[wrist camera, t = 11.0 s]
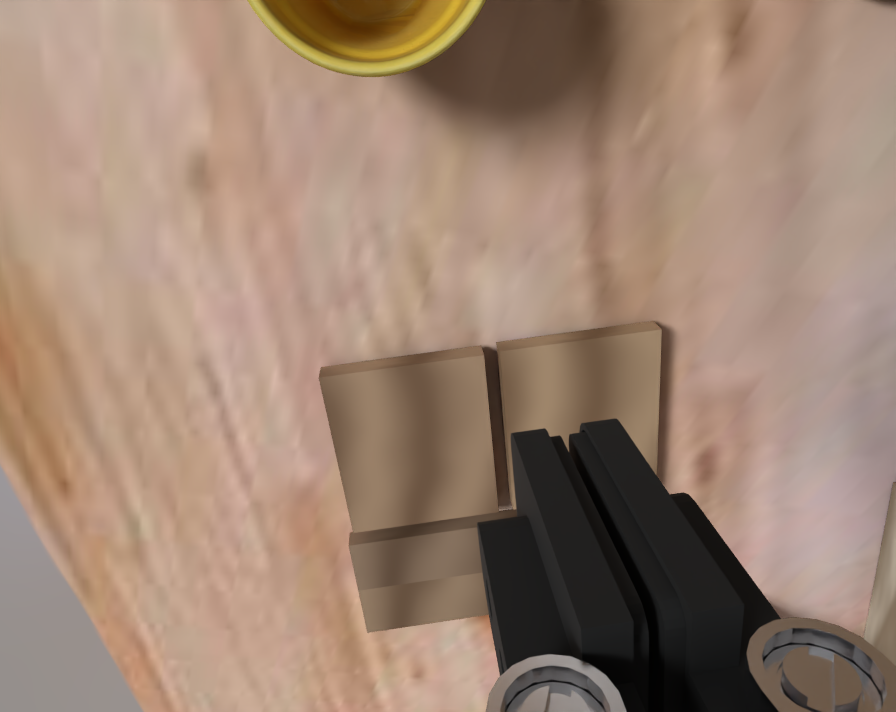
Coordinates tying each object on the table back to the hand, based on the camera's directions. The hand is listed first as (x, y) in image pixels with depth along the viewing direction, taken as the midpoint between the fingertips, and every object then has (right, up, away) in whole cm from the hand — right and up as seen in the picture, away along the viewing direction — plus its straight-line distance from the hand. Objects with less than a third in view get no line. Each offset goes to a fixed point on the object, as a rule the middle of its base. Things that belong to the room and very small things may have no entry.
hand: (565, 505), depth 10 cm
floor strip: (+3, -12, +37) cm, 39 cm away
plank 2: (+7, -1, +33) cm, 33 cm away
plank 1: (-4, -3, +32) cm, 33 cm away
